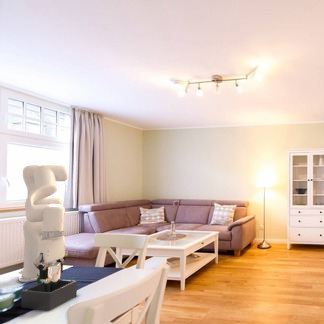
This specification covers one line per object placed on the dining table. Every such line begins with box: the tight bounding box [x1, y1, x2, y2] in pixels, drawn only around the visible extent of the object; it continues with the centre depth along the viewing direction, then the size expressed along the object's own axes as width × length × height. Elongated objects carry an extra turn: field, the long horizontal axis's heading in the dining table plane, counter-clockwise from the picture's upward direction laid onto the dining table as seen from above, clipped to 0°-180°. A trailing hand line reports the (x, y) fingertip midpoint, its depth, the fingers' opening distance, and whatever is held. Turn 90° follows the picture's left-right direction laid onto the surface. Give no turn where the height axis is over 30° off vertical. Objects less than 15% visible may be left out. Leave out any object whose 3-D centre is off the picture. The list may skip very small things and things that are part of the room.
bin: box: [20, 279, 78, 311], centre depth 118 cm, size 14×14×7 cm
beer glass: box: [41, 262, 62, 292], centre depth 118 cm, size 7×7×15 cm
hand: (51, 275), depth 119 cm, fingers closed on beer glass, 7 cm apart
